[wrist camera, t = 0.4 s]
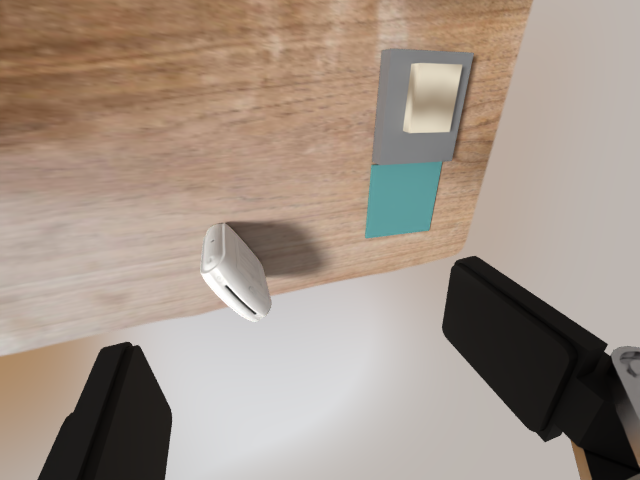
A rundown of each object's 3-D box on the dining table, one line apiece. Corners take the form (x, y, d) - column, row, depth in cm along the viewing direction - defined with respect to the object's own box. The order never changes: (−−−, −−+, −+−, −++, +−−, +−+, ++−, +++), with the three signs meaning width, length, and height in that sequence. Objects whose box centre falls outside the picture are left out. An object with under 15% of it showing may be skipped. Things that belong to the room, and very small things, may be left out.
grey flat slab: (381, 50, 39) (391, 48, 37) (460, 54, 42) (473, 52, 40) (371, 161, 46) (379, 165, 43) (441, 157, 49) (451, 161, 47)
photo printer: (198, 233, 43) (192, 283, 32) (223, 216, 43) (226, 260, 32) (243, 280, 48) (251, 336, 38) (266, 265, 48) (280, 316, 38)
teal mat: (371, 164, 46) (372, 165, 45) (440, 160, 49) (442, 161, 49) (365, 237, 51) (366, 238, 51) (427, 229, 54) (429, 230, 54)
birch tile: (411, 63, 39) (420, 62, 37) (452, 65, 40) (462, 64, 38) (402, 131, 42) (410, 133, 41) (440, 130, 44) (449, 131, 42)
